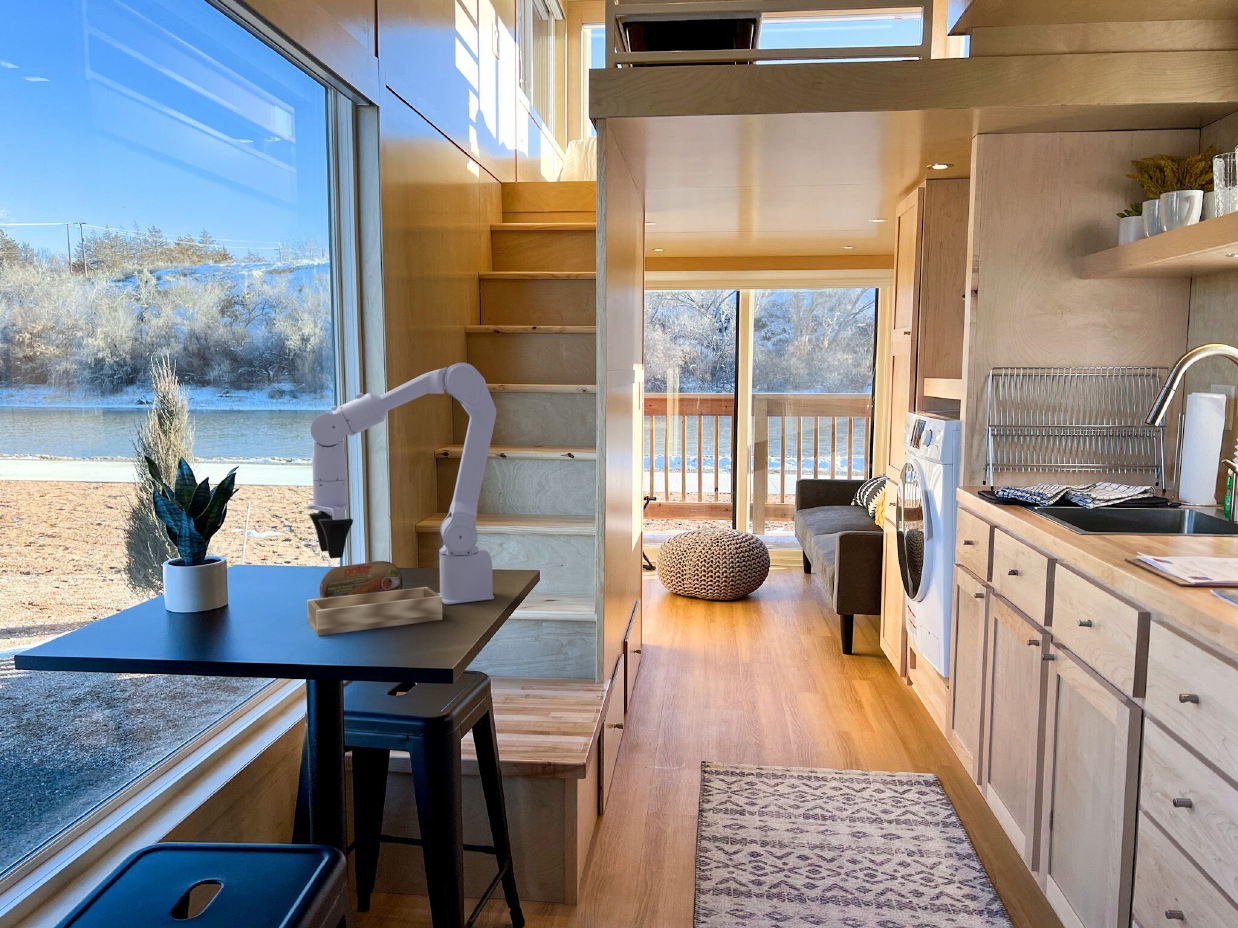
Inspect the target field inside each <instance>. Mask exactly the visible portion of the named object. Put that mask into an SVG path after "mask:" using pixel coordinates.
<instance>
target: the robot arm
mask: <svg viewBox="0 0 1238 928" xmlns="http://www.w3.org/2000/svg"><path fill="white" fill-rule="evenodd" d="M486 382H487V381H486V379H485V378H484V377H483V375H482V374H481V373H480V372H479V371H478V370H477V368H475V367H474V366H473V365H472V364H470V363H467V362H457V363H455V364H452V365H450V366H448V367H443V368H439V369H435V370H431V371H429V372H425V373H423V374H421V375H419V376H417V377H415V378H413V379H411V380H409V381H406V382H405V383H403V384H401V385H399V386H397V387H395V388H393V389H391V390H389V391H387V392H385V393H382V394H381V395H377V394H375V393H372V392H367V393H365V394H364V393H363V392H360V393H357V394H356V395H355V399H352V400H350V401H348V402H346V403H344V404H341V405H340V406H337V405H333V406H331V408H330V410H331V411H332V412H322V413H321V414H320V415H318V416H316V417H315V418H314V419H313V421H312V422H311V424H310V434H311V437H312V438H313V444H312V450H313V454H312V456H311V457H312V459H311V460H312V483H313V484H312V485H313V487H312V488H313V489H312V490H313V492H312V493H313V503H312V504H311V503H310V504H306V509H307V510H314V511H317V512H313V513H311V512H310V513H309V514H308V517H309V519H310V520H311V522H312V523H313V526H314V529H315V533H316V536H317V540H318V545H319V548H320V551H321V552H322V553H323V552H327V554H328V558H329V559H342V558H343V556H344V553H345V547H346V541H347V538H348V535H349V531H350V529H351V527H352V525H353V523H354V519H353V518H346V510H347V509H348V507H349V503H348V501H347V499H348V497H347V494H348V493H347V459H346V457H347V455H346V453H345V440H344V438H345V437H346V436H347V435H349V436H355V435H357V434H359V433H361V432H363V431H366V430H367V429H370V428H372V427H373V426H376V425H379V424H380V423H382V422H384V421H385V419H386V416H387V413H388V412H389V411H390V410H393V409H395V408H397V407H400V406H401V405H405V404H406V403H409V402H410V401H413V400H416V399H418V398H420V397H423V396H425V395H427V394H434V395H435V394H438V395H440V394H441V395H444V394H445V391H446V392H447V394H449V395H450V396H452V398H454V399H455V400H457V401H458V402H460V404H461V406H462V408H463V409H464V410H465V412H466V413H467V415H468V416H469V421H468V425H467V430H466V435H465V439H464V444H463V447H462V448H463V450H462V453H461V459H460V463H459V468H458V473H457V477H456V483H455V487H454V492H453V497H452V499H451V500H452V501H451V504H450V505H449V509H448V513H447V516H446V517H445V518H444V519H443V521H442V522H441V525H440V530H439V532H440V535H441V538H442V542H443V546H442V547H441V548H440V549H439V550H438V551H439V592H436V593H437V594H439V595H440V596H442V604H444V605H455V604H456V605H457V604H463V603H470V602H471V603H472V602H477V601H478V602H479V601H480V602H481V601H488V600H494V599H495V596H494V594H493V593H494V592H493V589H494V588H493V561H492V556H491V554H490V552H489V551H488V550H486V549H484V550H483V549H481V550H480V549H479V547H478V546H476V545H477V542H478V531H477V526H476V523H477V517H478V504H479V499H480V495H481V489H482V485H483V481H484V480H483V479H484V475H485V471H486V470H485V469H486V466H487V461H488V455H489V452H490V447H491V442H492V437H493V432H494V427H495V422H496V418H497V408H496V405H495V403H494V400H493V398H492V396H491V393H490V390H489V388H488V386H487V383H486Z"/></svg>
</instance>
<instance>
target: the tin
mask: <svg viewBox="0 0 1238 928" xmlns="http://www.w3.org/2000/svg"><path fill="white" fill-rule="evenodd" d="M319 584H320V585H319V596H320V598H329V597H338V596H347V595H356V594H366V593H375V592H384V591H393V590H402V589H403V585H404V579H403V575H402V573H401V570H400V569H399V567H398V566H397V565H395V564H394V563H392V562H391V561H387V560H373V561H367V562H362V563H355V564H348V565H340V566H337V567H334V568H332V569H330V570H329V571H327V572H326V574H325V575H324V576H323V578H322V579H321V582H320V583H319Z"/></svg>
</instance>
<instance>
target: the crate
mask: <svg viewBox="0 0 1238 928" xmlns="http://www.w3.org/2000/svg"><path fill="white" fill-rule="evenodd" d="M437 593H438V592H436V591H434V590H433V589H431V588H430V587H428V586H423V587H422V586H421V587H412V588H405V589H403V588H402V590H393V591H384V592H375V593H366V594H356V595H347V596H338V597H329V598H321V597H320V598H312V599H307V600H306V602H307V604H306V607H307V625H309V627H310V628H311V629H312V630H313V632H314V633H315V634H316V635H317V636H326V635H333V634H342V633H348V632H358V631H364V630H372V629H373V630H374V629H380V628H388V627H396V626H397V627H398V626H404V625H411V624H419V623H426V622H434V621H442V620H443V602H442V596H440V595H439V594H437Z"/></svg>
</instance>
